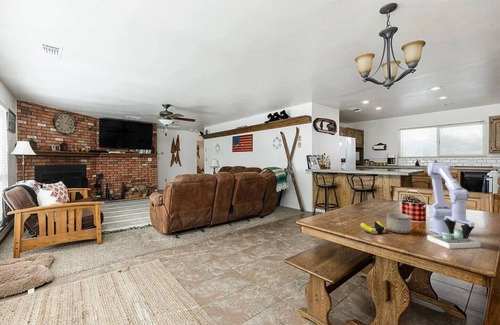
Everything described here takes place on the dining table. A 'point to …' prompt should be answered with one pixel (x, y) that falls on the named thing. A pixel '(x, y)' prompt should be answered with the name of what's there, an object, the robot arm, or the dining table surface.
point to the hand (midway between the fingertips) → (458, 235)
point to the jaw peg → (458, 234)
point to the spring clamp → (374, 228)
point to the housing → (453, 241)
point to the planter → (398, 222)
